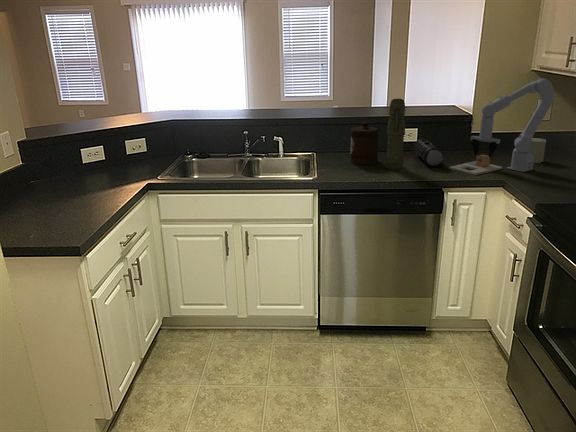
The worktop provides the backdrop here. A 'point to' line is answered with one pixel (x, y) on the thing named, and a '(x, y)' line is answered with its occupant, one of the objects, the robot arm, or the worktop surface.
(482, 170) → the panel
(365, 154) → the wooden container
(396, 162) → the olive rounded pillar
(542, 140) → the can
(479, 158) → the plug
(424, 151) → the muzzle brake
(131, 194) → the worktop surface
